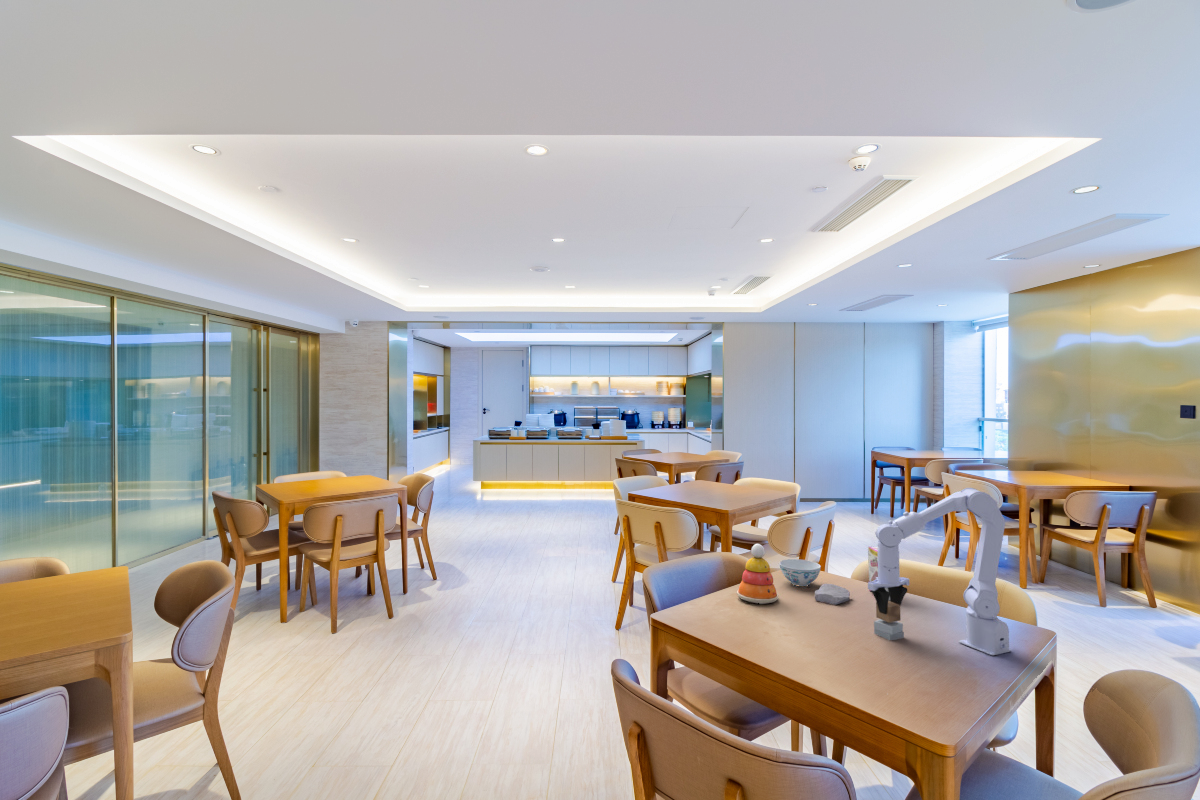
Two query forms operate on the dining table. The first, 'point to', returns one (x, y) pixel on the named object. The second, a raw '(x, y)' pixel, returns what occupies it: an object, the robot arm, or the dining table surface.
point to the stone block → (832, 594)
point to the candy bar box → (873, 564)
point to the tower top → (888, 626)
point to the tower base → (889, 635)
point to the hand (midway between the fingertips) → (889, 611)
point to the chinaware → (800, 571)
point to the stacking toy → (757, 579)
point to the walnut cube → (889, 613)
